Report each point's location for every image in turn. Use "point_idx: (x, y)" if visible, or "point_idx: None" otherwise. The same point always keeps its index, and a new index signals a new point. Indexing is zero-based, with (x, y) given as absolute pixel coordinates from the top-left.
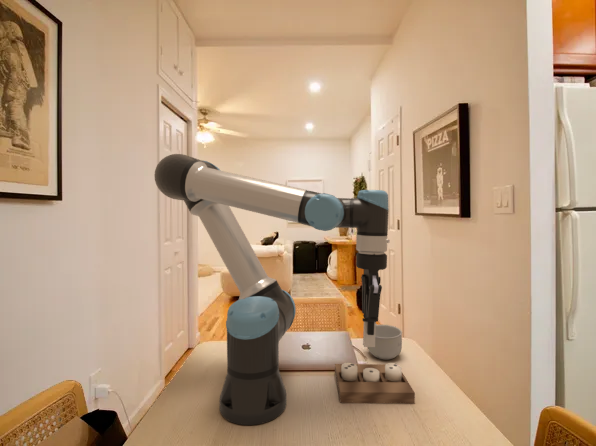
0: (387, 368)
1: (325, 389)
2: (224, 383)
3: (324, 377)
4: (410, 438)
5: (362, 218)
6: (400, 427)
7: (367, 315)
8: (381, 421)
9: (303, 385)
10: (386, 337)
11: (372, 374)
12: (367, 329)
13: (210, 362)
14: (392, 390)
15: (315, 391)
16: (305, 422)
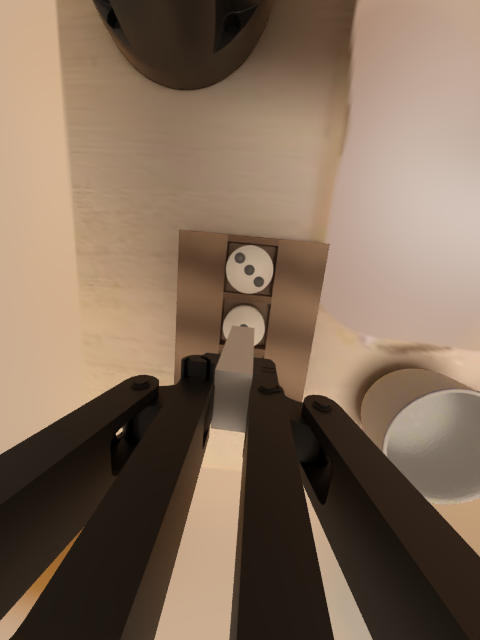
0: None
1: (244, 206)
2: None
3: (303, 212)
4: (86, 333)
5: None
6: (112, 328)
7: (133, 396)
8: (127, 301)
9: (268, 145)
10: (460, 444)
11: (228, 326)
12: (217, 362)
13: None
14: (183, 352)
15: (237, 177)
16: (119, 140)
